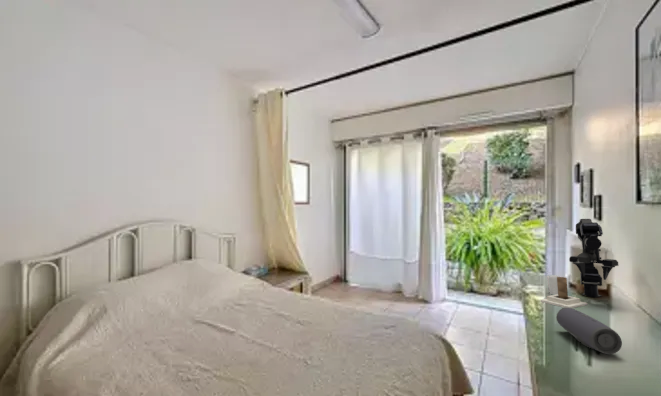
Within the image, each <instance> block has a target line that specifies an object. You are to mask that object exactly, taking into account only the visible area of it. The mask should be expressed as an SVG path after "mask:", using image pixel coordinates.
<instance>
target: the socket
mask: <svg viewBox="0 0 661 396" xmlns="http://www.w3.org/2000/svg"><path fill="white" fill-rule="evenodd" d="M540 302H541V303H544V302H545V304H548V305H553V306H556V307H560V308H572V309H576V308H580V307H585V306H588V302H585V301H581V298H579V297H574V296H570V295H568V299H566V300H565V299H561V298H558V294H556V295H551V294H550V295H546V298H542V299H540Z"/></svg>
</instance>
